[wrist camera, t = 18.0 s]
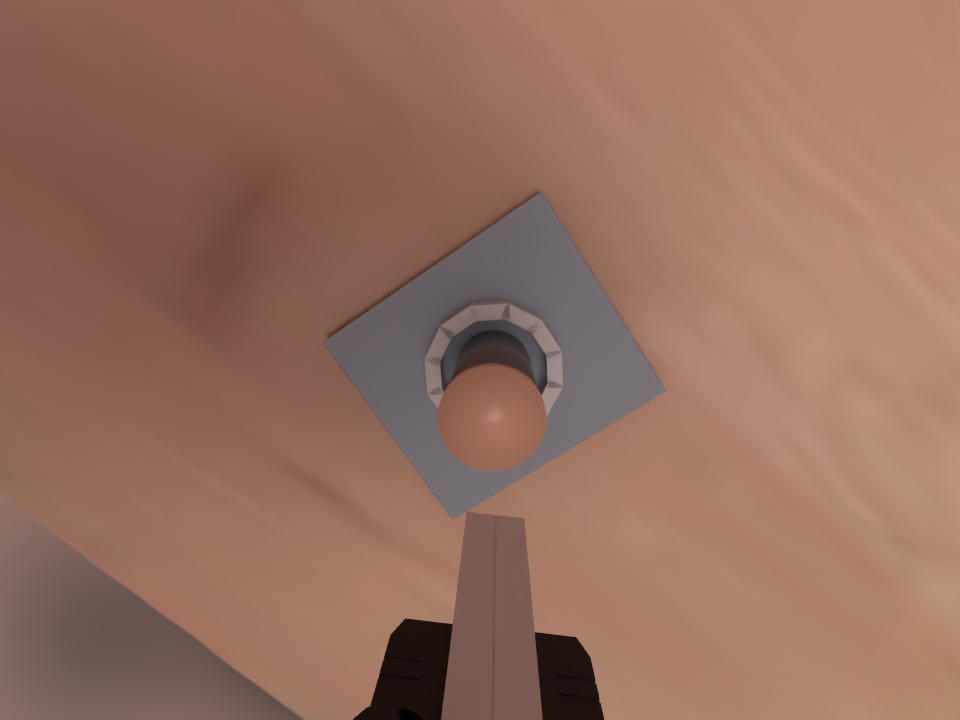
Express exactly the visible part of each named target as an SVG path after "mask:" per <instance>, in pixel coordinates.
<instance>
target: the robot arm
mask: <svg viewBox="0 0 960 720" xmlns="http://www.w3.org/2000/svg"><path fill="white" fill-rule="evenodd" d="M353 720H604V716H603V712H602V707H601V703H599V694H598V689H597V685H596V684H595V676H594V671H593V667H592V663H591V658H590V656H589V655H588V653H587V652H586V651H585V649H584V648H583V646H582V645H581V643H580V642H579V641H578V639H577V638H576V637H570V636H562V635H553V634H545V633H537V632H535V631H534V620H533V609H532V599H531V588H530V577H529V566H528V555H527V544H526V533H525V522H524V518H516V517H507V516H499V515H490V514H482V513H473V512H467V515H466V523H465V531H464V539H463V547H462V555H461V563H460V571H459V579H458V587H457V595H456V603H455V612H454V620H453V624H447V623H438V622H430V621H422V620H413V619H405V620H404V621H403V622H402V623H401V624H400V625H399V626H398V627H397V628H396V630H395V631H394V632H393V633H392V634H391V635H390V638H389V642H388V645H387V649H386V653H385V656H384V660H383V663H382V667H381V670H380V674H379V678H378V681H377V684H376V688H375V691H374V695H373V699H372V702H371V706H370V707H367V708H366V709H365V710H363V711H362V712H361V713H360V714H359V715H357V716H356V717H355V718H354V719H353Z"/></svg>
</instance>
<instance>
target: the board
mask: <svg viewBox="0 0 960 720" xmlns="http://www.w3.org/2000/svg"><path fill="white" fill-rule="evenodd" d="M490 330H498V331H503V332H507V333H509V334H511V335H513V336H515V337H516V338H517V339H518V340H519V341H520V342H521V343H522V344H523V345H524V347H525V348H526V350H527V353H528V355H529V359H530V363H531V366H532V370H533V373H534V377H535V380H536V384H537V388H538V390H539V391H540V393H541V396H542V398H543V401H544V405H545V409H546V416H547V422H546V430H545V433H544V437H543V439H542V441H541V443H540V445H539V446H538V448H537V450H536V451H535V452H534V453H533V454H532V455H531V456H530V457H529V458H528V459H527V460H525V461H524V462H522V463H521V464H519V465H517V466H515V467H512V468H509V469H506V470H501V471H484V470H479V469H475V468H472V467H470V466H468V465H466V464H464V463H462V462H461V461H459V460H458V459H457V458H455V457H454V456H453V455H452V454H451V453H450V451H449V450H448V449H447V448H446V446H445V444H444V443H443V441H442V438H441V436H440V433H439V429H438V423H437V415H438V408H439V404H440V401H441V398H442V396H443V394H444V391H445V390H446V388H447V386H448V385H449V383H450V380H451V377H452V374H453V372H454V369H455V366H456V363H457V361H458V358H459V355H460V353H461V350H462V348H463V347H464V345H465V344H466V343H467V342H468V341H469V340H470V339H471V338H472V337H473V336H475V335H477V334H479V333H481V332H484V331H490ZM323 343H324V344H325V346H326V347H327V349H328V350H329V351H330V353H331V354H332V355H333V357H334V358H335V360H336V361H337V362H338V364H339V365H340V366H341V368H342V369H343V370H344V372H345V373H346V375H347V376H348V377H349V379H350V380H351V381H352V383H353V384H354V386H355V387H356V388H357V390H358V391H359V392H360V394H361V395H362V396H363V398H364V399H365V401H366V402H367V403H368V405H369V406H370V407H371V409H372V410H373V412H374V413H375V414H376V416H377V417H378V418H379V420H380V421H381V423H382V424H383V425H384V427H385V428H386V429H387V431H388V432H389V433H390V435H391V436H392V438H393V439H394V440H395V442H396V443H397V444H398V446H399V447H400V449H401V450H402V451H403V453H404V454H405V455H406V457H407V458H408V459H409V461H410V462H411V464H412V465H413V466H414V468H415V469H416V470H417V472H418V473H419V475H420V476H421V477H422V479H423V480H424V481H425V483H426V484H427V485H428V487H429V488H430V490H431V491H432V492H433V494H434V495H435V496H436V498H437V499H438V501H439V502H440V503H441V505H442V506H443V507H444V509H445V510H446V512H447V513H448V514H449V516H450V517H451V518H452V519H454V518H456V517H457V516H459V515H461V514H462V513H464V512H466V511H467V510H469V509H471V508H472V507H474V506H476V505H477V504H479V503H481V502H482V501H484V500H486V499H487V498H489V497H491V496H492V495H494V494H496V493H497V492H499V491H501V490H502V489H504V488H505V487H507V486H509V485H510V484H512V483H514V482H515V481H517V480H519V479H520V478H522V477H524V476H525V475H527V474H529V473H530V472H532V471H534V470H535V469H537V468H539V467H540V466H542V465H544V464H545V463H547V462H549V461H550V460H552V459H553V458H555V457H557V456H558V455H560V454H562V453H563V452H565V451H567V450H568V449H570V448H572V447H573V446H575V445H577V444H578V443H580V442H582V441H583V440H585V439H587V438H588V437H590V436H592V435H593V434H595V433H597V432H598V431H600V430H602V429H603V428H605V427H606V426H608V425H610V424H611V423H613V422H615V421H616V420H618V419H620V418H621V417H623V416H625V415H626V414H628V413H630V412H631V411H633V410H635V409H636V408H638V407H640V406H641V405H643V404H645V403H646V402H648V401H650V400H651V399H653V398H654V397H656V396H658V395H659V394H661V393H663V392H664V391H666V390H665V388H664V387H663V385H662V384H661V382H660V380H659V379H658V377H657V376H656V374H655V372H654V371H653V369H652V368H651V366H650V364H649V363H648V361H647V360H646V358H645V356H644V355H643V353H642V352H641V350H640V348H639V347H638V345H637V344H636V342H635V340H634V339H633V337H632V336H631V334H630V332H629V331H628V329H627V327H626V326H625V324H624V323H623V321H622V319H621V318H620V316H619V315H618V313H617V311H616V310H615V308H614V307H613V305H612V303H611V302H610V300H609V299H608V297H607V295H606V294H605V292H604V291H603V289H602V287H601V286H600V284H599V283H598V281H597V279H596V278H595V276H594V275H593V273H592V271H591V270H590V268H589V266H588V265H587V263H586V262H585V260H584V258H583V257H582V255H581V254H580V252H579V250H578V249H577V247H576V246H575V244H574V242H573V241H572V239H571V238H570V236H569V234H568V233H567V231H566V230H565V228H564V226H563V225H562V223H561V222H560V220H559V218H558V217H557V215H556V214H555V212H554V210H553V209H552V207H551V205H550V204H549V202H548V201H547V199H546V197H545V196H544V194H543V193H542V191H541V192H540V193H538V194H537V195H536V196H534V197H533V198H531V199H530V200H528V201H527V202H525V203H524V204H522V205H521V206H520V207H518V208H517V209H515V210H514V211H512V212H511V213H509V214H508V215H507V216H505V217H504V218H502V219H501V220H499V221H498V222H496V223H495V224H493V225H492V226H491V227H489V228H488V229H486V230H485V231H483V232H482V233H480V234H479V235H477V236H476V237H475V238H473V239H472V240H470V241H469V242H467V243H466V244H464V245H463V246H462V247H460V248H459V249H457V250H456V251H454V252H453V253H451V254H450V255H448V256H447V257H446V258H444V259H443V260H441V261H440V262H438V263H437V264H435V265H434V266H433V267H431V268H430V269H428V270H427V271H425V272H424V273H422V274H421V275H419V276H418V277H417V278H415V279H414V280H412V281H411V282H409V283H408V284H406V285H405V286H403V287H402V288H401V289H399V290H398V291H396V292H395V293H393V294H392V295H390V296H389V297H388V298H386V299H385V300H383V301H382V302H380V303H379V304H377V305H376V306H374V307H373V308H372V309H370V310H369V311H367V312H366V313H364V314H363V315H361V316H360V317H359V318H357V319H356V320H354V321H353V322H351V323H350V324H348V325H347V326H345V327H344V328H343V329H341V330H340V331H338V332H337V333H335V334H334V335H332V336H331V337H330V338H328V339H327V340H325V341H324V342H323Z"/></svg>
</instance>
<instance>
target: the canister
mask: <svg viewBox="0 0 960 720" xmlns="http://www.w3.org/2000/svg"><path fill="white" fill-rule="evenodd" d="M546 422H547V416H546V409H545V405H544V401H543V398H542V396H541V393H540V391H539V390H538V388H537V384H536V380H535V377H534V373H533V370H532V366H531V363H530V359H529V355H528V353H527V350H526V348H525V347H524V345H523V344H522V343H521V342H520V341H519V340H518V339H517V338H516V337H515V336H513V335H511V334H509V333H507V332H503V331H498V330H490V331H484V332H481V333H479V334H477V335H475V336H473V337H472V338H471V339H470V340H469V341H468V342H467V343H466V344H465V345H464V347H463V348H462V350H461V353H460V355H459V358H458V361H457V363H456V366H455V369H454V372H453V374H452V377H451V380H450V383H449V385H448V386H447V388H446V390H445V391H444V394H443V396H442V398H441V401H440V404H439V408H438V415H437V423H438V429H439V433H440V436H441V438H442V441H443V443H444V444H445V446H446V448H447V449H448V450H449V451H450V453H451V454H452V455H453V456H454V457H455V458H457V459H458V460H459V461H461V462H462V463H464V464H466V465H468V466H470V467H472V468H475V469H479V470H484V471H501V470H506V469H509V468H512V467H515V466H517V465H519V464H521V463H522V462H524V461H525V460H527V459H528V458H529V457H530V456H531V455H532V454H533V453H534V452H535V451H536V450H537V448H538V446H539V445H540V443H541V441H542V439H543V437H544V433H545V430H546Z"/></svg>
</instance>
